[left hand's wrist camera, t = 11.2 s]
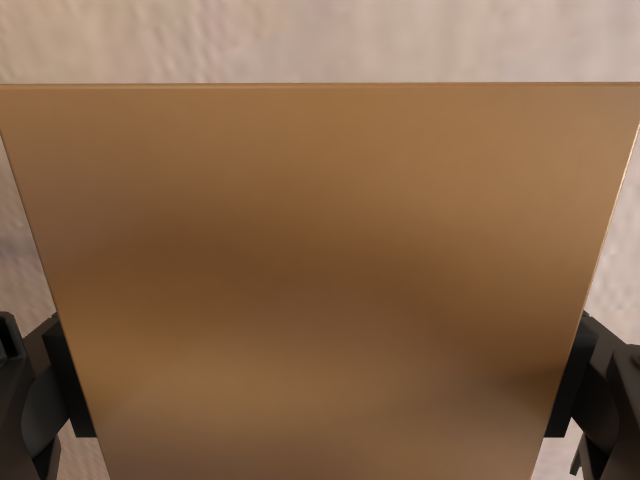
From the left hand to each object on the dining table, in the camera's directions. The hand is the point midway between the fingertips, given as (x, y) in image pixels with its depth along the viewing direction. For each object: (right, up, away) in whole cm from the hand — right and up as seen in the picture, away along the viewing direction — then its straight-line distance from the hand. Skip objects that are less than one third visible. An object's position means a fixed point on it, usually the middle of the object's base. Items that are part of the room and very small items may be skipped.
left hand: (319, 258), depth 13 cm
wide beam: (0, -21, +9) cm, 23 cm away
